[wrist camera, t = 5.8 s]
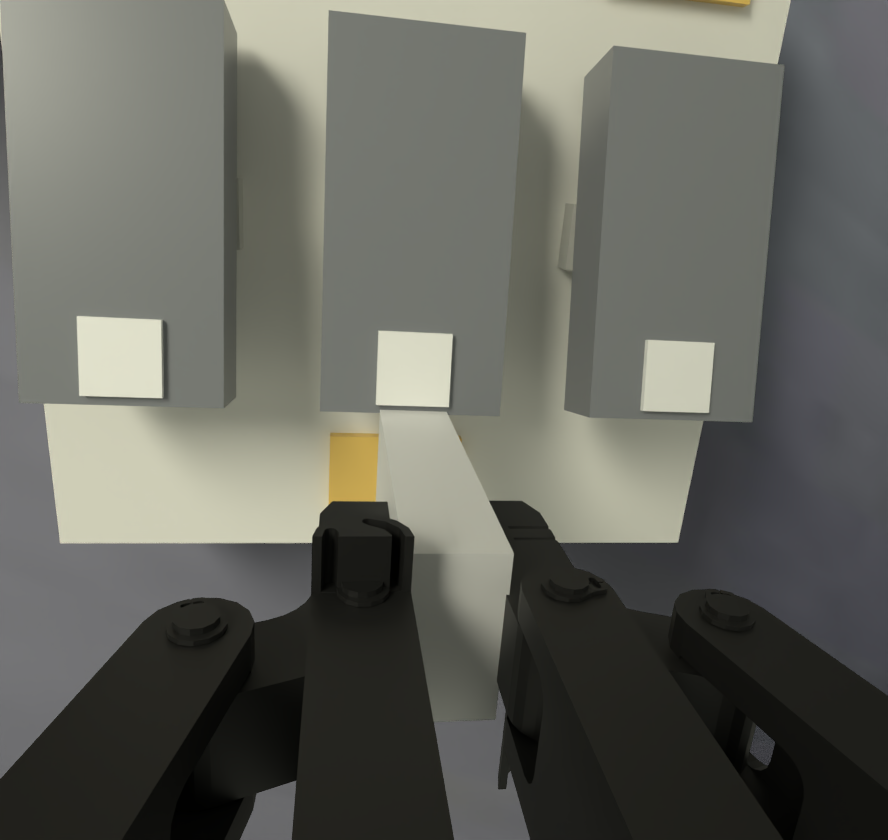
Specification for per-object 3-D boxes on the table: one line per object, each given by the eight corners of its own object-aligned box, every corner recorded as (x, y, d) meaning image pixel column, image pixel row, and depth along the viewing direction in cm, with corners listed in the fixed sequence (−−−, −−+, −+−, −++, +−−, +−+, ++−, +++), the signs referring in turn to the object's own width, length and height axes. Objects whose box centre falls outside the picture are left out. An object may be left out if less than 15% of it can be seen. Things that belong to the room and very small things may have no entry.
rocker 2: (329, 42, 15) (328, 6, 13) (505, 60, 16) (528, 29, 14) (322, 398, 17) (319, 412, 15) (483, 403, 17) (501, 417, 15)
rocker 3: (584, 77, 17) (616, 42, 15) (738, 93, 17) (788, 62, 15) (563, 410, 17) (592, 418, 15) (711, 414, 18) (755, 423, 16)
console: (75, -159, 19) (-60, -327, 12) (697, -70, 21) (843, -170, 15) (124, 458, 24) (50, 556, 18) (609, 467, 27) (688, 553, 21)
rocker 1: (40, 12, 15) (-6, -31, 13) (237, 34, 15) (222, -5, 13) (54, 391, 16) (15, 404, 14) (236, 397, 16) (222, 409, 14)
